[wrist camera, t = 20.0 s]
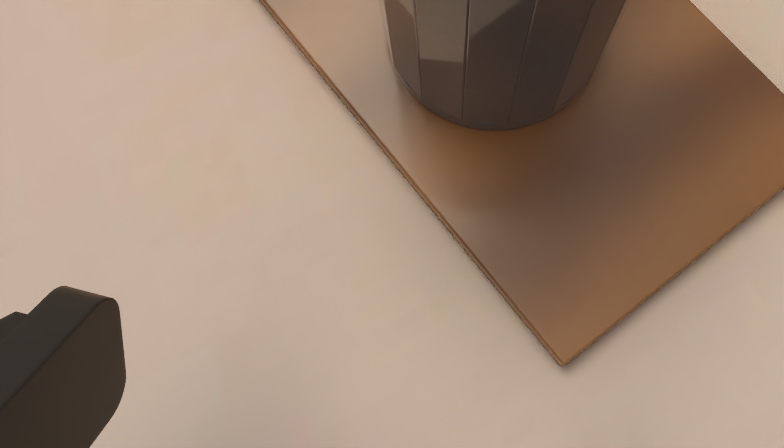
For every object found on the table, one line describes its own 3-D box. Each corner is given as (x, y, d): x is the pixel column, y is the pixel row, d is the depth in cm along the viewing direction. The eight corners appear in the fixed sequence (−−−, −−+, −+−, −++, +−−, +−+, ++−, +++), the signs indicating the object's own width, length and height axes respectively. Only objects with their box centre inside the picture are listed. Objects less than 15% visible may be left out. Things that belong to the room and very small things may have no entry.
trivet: (825, 152, 19) (836, 145, 19) (560, 367, 19) (564, 366, 18) (443, -231, 23) (443, -247, 22) (207, -62, 22) (201, -75, 22)
